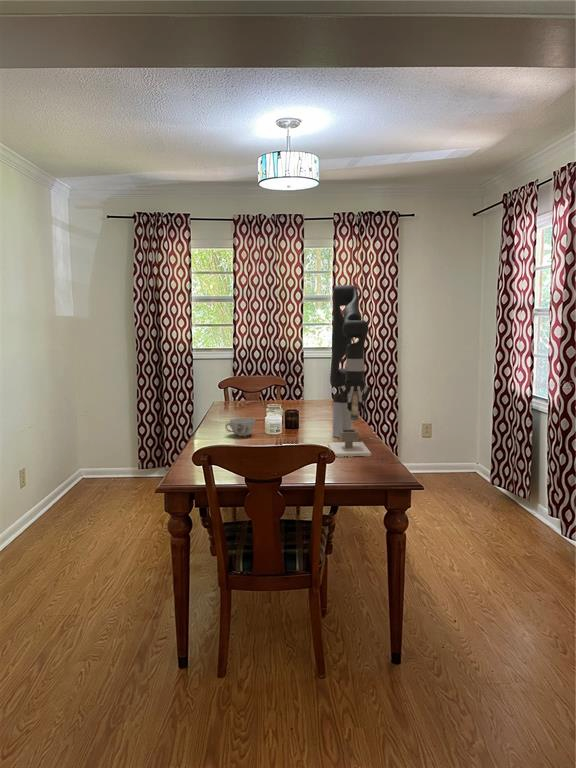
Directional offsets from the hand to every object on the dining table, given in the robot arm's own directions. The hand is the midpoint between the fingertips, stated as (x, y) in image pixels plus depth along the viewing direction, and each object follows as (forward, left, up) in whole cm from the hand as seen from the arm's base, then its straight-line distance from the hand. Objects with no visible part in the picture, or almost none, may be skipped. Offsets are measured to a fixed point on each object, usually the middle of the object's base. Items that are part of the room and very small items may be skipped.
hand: (354, 410), depth 241 cm
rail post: (0, 0, -4) cm, 4 cm away
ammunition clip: (+9, -29, -21) cm, 36 cm away
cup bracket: (-14, 0, -21) cm, 25 cm away
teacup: (-48, -49, -21) cm, 71 cm away
